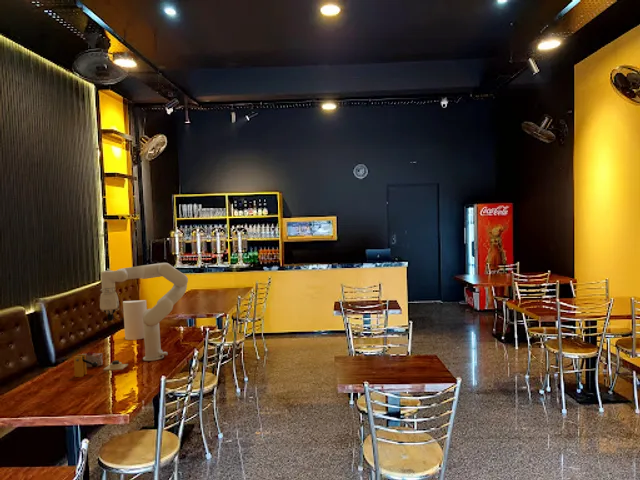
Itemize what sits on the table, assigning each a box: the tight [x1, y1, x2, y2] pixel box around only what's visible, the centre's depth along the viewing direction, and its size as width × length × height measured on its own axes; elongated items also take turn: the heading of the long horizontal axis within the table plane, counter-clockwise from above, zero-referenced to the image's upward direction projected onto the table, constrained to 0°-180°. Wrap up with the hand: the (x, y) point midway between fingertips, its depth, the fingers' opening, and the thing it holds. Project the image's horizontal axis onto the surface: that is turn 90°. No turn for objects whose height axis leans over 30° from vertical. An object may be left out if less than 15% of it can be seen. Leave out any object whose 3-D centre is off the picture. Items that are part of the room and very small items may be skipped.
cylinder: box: [122, 299, 148, 341], centre depth 381 cm, size 17×17×28 cm
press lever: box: [78, 354, 99, 369], centre depth 281 cm, size 12×3×3 cm, turn 92°
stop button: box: [111, 359, 120, 365], centre depth 294 cm, size 4×4×2 cm
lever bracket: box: [73, 353, 88, 378], centre depth 281 cm, size 10×8×13 cm
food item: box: [84, 350, 104, 368], centre depth 302 cm, size 14×8×10 cm, turn 93°
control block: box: [103, 361, 129, 372], centre depth 294 cm, size 11×9×4 cm
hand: (110, 320), depth 307 cm, fingers closed
